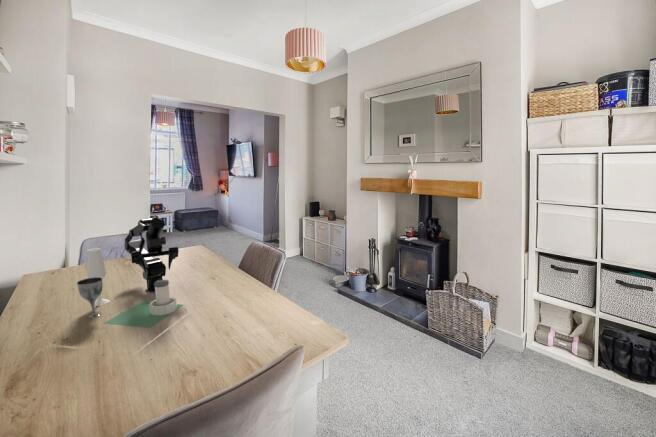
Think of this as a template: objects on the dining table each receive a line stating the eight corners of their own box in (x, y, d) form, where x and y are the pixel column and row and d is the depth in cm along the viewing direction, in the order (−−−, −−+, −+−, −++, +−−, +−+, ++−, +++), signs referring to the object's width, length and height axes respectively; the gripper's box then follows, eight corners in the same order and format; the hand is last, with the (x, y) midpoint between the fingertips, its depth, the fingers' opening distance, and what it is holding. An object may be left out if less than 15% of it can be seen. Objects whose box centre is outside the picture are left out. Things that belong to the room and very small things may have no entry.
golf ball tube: (154, 313, 129) (152, 284, 127) (158, 307, 134) (156, 280, 132) (168, 311, 130) (166, 283, 128) (172, 306, 135) (170, 279, 133)
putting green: (103, 324, 121) (102, 314, 120) (142, 302, 141) (141, 293, 140) (150, 329, 118) (149, 318, 117) (183, 306, 137) (183, 296, 137)
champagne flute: (90, 307, 136) (83, 252, 132) (91, 301, 142) (84, 248, 138) (109, 303, 140) (103, 250, 136) (109, 298, 145) (103, 246, 141)
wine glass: (90, 312, 131) (85, 277, 129) (110, 312, 132) (106, 276, 129) (76, 322, 123) (71, 284, 121) (98, 321, 124) (94, 284, 122)
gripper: (128, 233, 138) (132, 265, 131) (176, 229, 148) (182, 258, 141) (130, 247, 146) (133, 278, 139) (175, 242, 156) (180, 270, 148)
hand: (157, 270), depth 141 cm, fingers open, 9 cm apart
